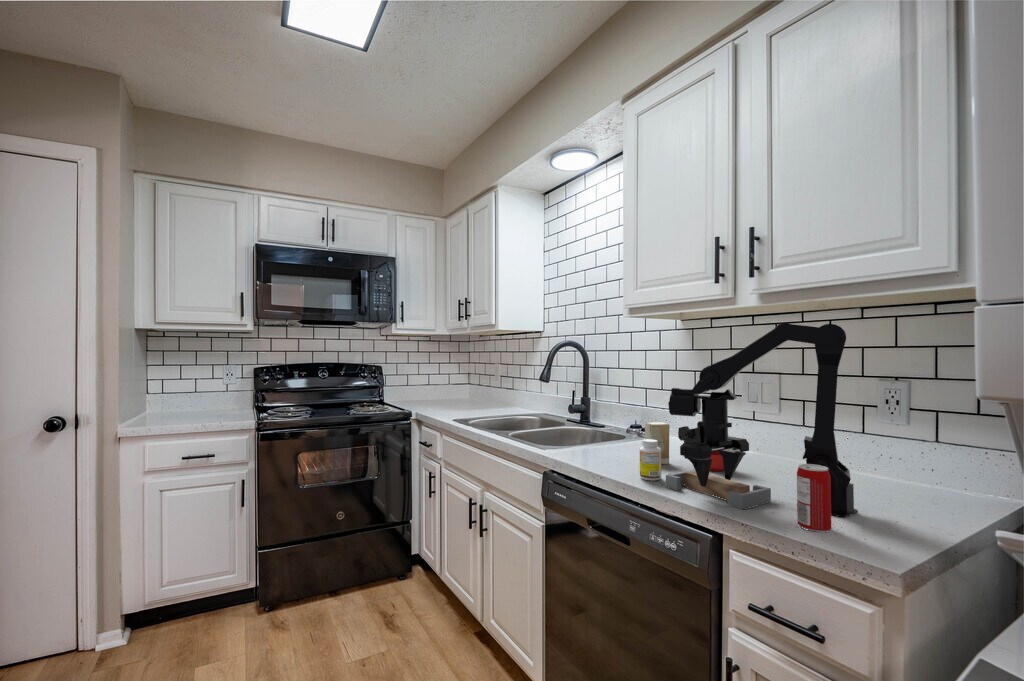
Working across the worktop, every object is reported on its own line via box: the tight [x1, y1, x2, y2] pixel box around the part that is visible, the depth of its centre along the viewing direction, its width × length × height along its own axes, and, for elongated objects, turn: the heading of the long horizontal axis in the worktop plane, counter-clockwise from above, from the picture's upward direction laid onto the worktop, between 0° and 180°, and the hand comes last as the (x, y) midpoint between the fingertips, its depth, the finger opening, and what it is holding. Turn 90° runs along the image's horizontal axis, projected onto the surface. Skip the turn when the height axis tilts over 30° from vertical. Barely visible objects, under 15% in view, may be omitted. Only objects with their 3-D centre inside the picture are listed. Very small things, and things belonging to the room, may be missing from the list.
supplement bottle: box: [639, 438, 662, 482], centre depth 132 cm, size 6×6×10 cm
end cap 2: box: [727, 484, 772, 510], centre depth 110 cm, size 4×10×3 cm, turn 122°
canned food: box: [701, 443, 724, 473], centre depth 143 cm, size 8×8×11 cm
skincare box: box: [644, 421, 670, 465], centre depth 151 cm, size 6×4×12 cm
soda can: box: [796, 463, 832, 533], centre depth 95 cm, size 6×6×12 cm
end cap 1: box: [665, 469, 695, 491], centre depth 125 cm, size 4×10×3 cm, turn 122°
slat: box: [683, 470, 751, 501], centre depth 118 cm, size 16×4×4 cm, turn 27°
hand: (715, 483), depth 118 cm, fingers open, 9 cm apart
